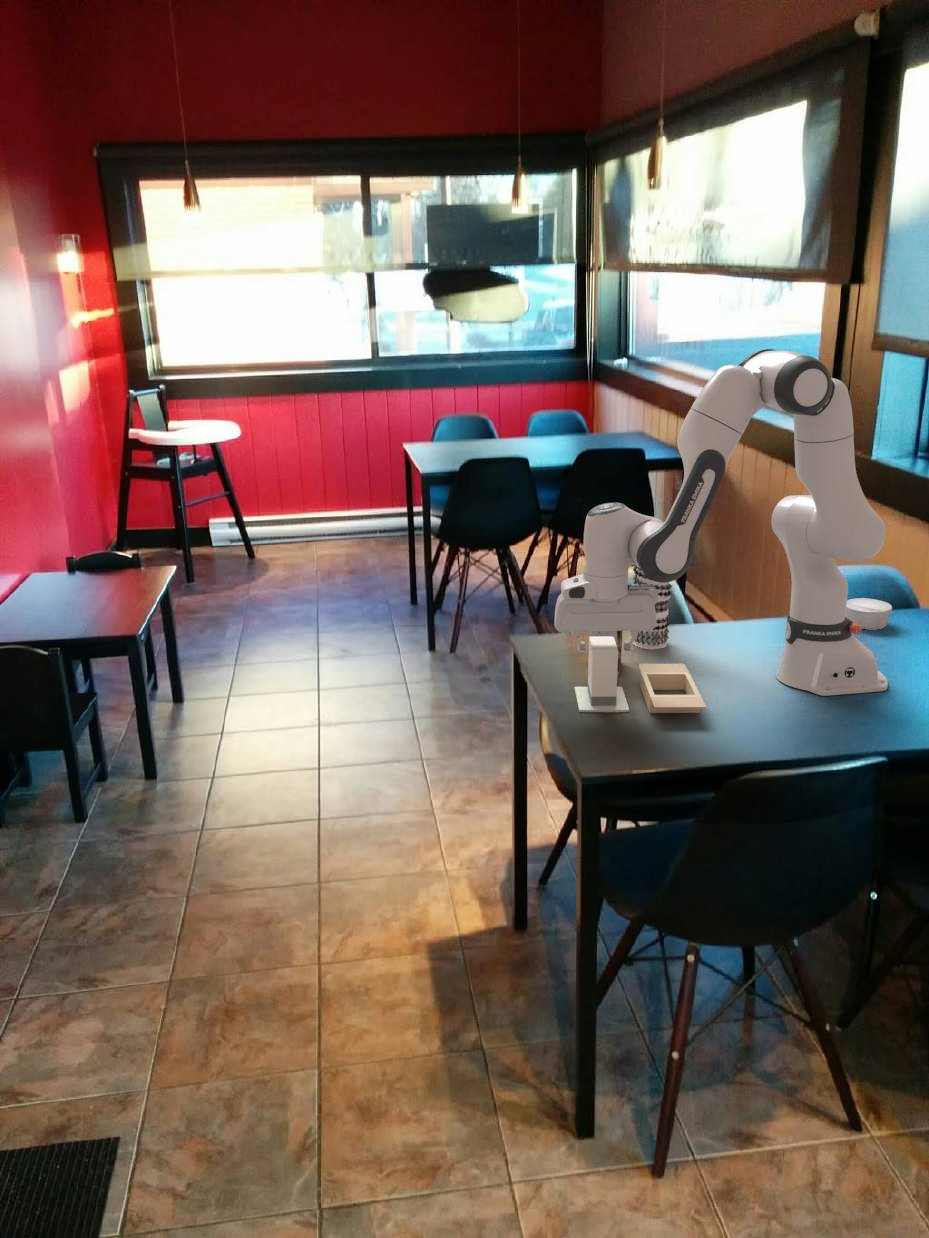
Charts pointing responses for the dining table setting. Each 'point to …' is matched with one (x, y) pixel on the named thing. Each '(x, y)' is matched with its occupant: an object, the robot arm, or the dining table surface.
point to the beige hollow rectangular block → (669, 680)
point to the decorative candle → (659, 633)
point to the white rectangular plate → (586, 706)
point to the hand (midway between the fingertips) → (604, 650)
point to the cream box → (602, 670)
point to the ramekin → (868, 613)
